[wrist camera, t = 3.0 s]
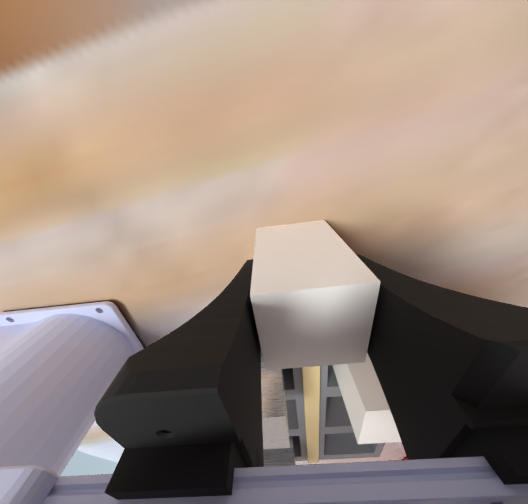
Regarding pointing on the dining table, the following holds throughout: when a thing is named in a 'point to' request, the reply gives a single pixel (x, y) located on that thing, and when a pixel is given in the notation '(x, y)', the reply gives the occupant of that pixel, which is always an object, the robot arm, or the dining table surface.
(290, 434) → the peg board
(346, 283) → the cream rectangular block
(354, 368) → the placed cream pin
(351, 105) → the dining table surface
